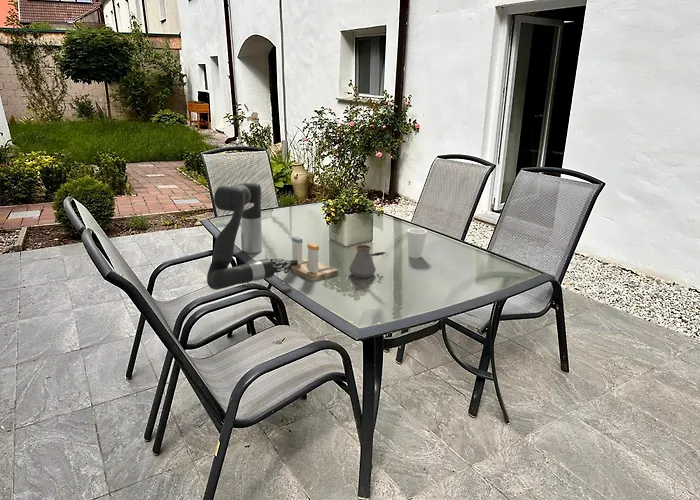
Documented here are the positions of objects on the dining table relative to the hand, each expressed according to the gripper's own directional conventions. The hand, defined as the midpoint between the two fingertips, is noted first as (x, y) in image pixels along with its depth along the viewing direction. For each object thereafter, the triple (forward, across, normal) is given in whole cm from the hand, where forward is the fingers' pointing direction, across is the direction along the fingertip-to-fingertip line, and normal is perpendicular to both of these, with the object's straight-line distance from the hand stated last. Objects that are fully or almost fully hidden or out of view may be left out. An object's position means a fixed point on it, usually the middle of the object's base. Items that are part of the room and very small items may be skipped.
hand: (296, 261), depth 191 cm
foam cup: (+65, -6, +9) cm, 66 cm away
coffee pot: (+26, -15, +9) cm, 32 cm away
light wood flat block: (+12, +6, +8) cm, 16 cm away
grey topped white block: (+8, +12, +6) cm, 16 cm away
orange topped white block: (+8, 0, +6) cm, 10 cm away
